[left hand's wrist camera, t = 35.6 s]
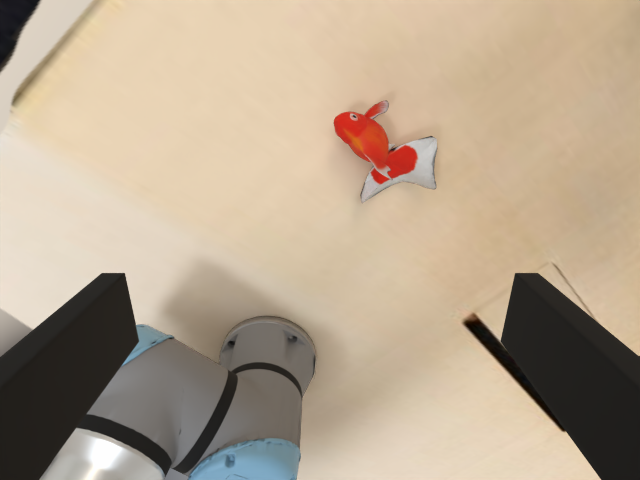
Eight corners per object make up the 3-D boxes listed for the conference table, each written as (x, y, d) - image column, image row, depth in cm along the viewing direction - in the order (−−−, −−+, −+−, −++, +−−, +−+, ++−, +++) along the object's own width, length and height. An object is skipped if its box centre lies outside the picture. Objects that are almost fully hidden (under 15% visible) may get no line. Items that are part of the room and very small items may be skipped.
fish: (399, 54, 41) (410, 109, 35) (448, 149, 51) (463, 204, 45) (318, 103, 46) (315, 158, 40) (377, 180, 56) (382, 233, 50)
